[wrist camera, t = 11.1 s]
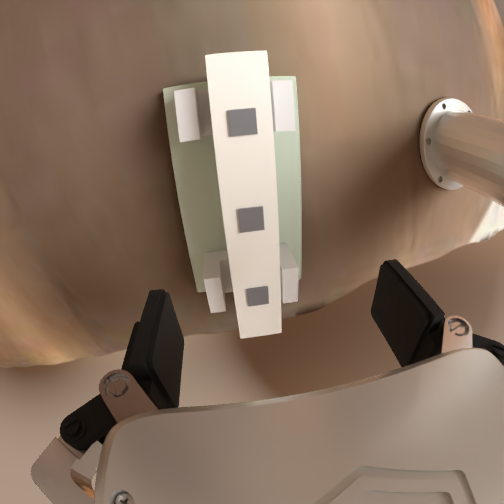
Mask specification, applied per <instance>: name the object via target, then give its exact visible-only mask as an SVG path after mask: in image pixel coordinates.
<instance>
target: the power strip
mask: <svg viewBox="0 0 504 504" xmlns="http://www.w3.org/2000/svg"><path fill="white" fill-rule="evenodd" d="M205 59H206V70H207V81H208V91H209V101H210V111H211V121H212V130H213V139H214V148H215V157H216V165H217V174H218V182H219V190H220V198H221V206H222V214H223V221H224V229H225V236H226V244H227V251H228V258H229V265H230V272H231V279H232V286H233V293H234V299H235V306H236V313H237V319H238V325H239V332H240V338H241V339H242V338H249V337H256V336H264V335H270V334H277V333H281V332H282V327H281V326H282V325H281V278H280V247H279V222H278V200H277V181H276V163H275V147H274V132H273V117H272V104H271V91H270V79H269V68H268V57H267V51H245V52H231V53H220V54H211V55H205Z"/></svg>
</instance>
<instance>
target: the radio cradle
mask: <svg viewBox="0 0 504 504" xmlns="http://www.w3.org/2000/svg"><path fill="white" fill-rule="evenodd" d="M269 79H270V91H271V104H272V117H273V132H274V147H275V163H276V181H277V200H278V222H279V247H280V278H281V299H282V302H283V304H284V303H290V302H296V301H298V279H301V257H302V206H301V162H300V137H299V118H298V102H297V88H296V76H269ZM163 94H164V104H165V112H166V120H167V128H168V136H169V143H170V150H171V157H172V163H173V170H174V176H175V182H176V188H177V194H178V200H179V205H180V211H181V216H182V221H183V226H184V231H185V236H186V241H187V246H188V251H189V256H190V260H191V265H192V269H193V274H194V278H195V283H196V287H197V291H198V293H199V292H206V294H207V298H208V303H209V307H210V312H211V313H216V312H225V311H226V302H225V293H229V292H233V286H232V279H231V272H230V265H229V258H228V251H227V244H226V236H225V229H224V221H223V214H222V206H221V198H220V190H219V182H218V174H217V165H216V157H215V148H214V139H213V130H212V121H211V111H210V101H209V91H208V81H206V82H198V83H191V84H185V85H179V86H174V87H168V88H163Z"/></svg>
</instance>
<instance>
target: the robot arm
mask: <svg viewBox="0 0 504 504" xmlns="http://www.w3.org/2000/svg"><path fill="white" fill-rule="evenodd" d="M420 154H421V159H422V163H423V166H424V169H425V171H426V173H427V175H428V176H429V177H430V179H431V180H432V181H433V182H434V183H435V184H436V185H438V186H440V187H442V188H444V189H447V190H456V189H460V188H461V187H463V186H465V187H468V188H470V189H472V190H473V191H475V192H477V193H479V194H481V195H483V196H485V197H487V198H489V199H491V200H492V201H494V202H496V203H498V204H499V205H501V206H503V207H504V120H502V119H498V118H494V117H490V116H485V115H481V114H476V113H473V112H472V111H471V109H470V108H469V107H468V106H467V105H466V104H465V103H464V102H462V101H460V100H458V99H455V98H442V99H439V100H437V101H436V102H434V103H433V104H432V105H431V106H430V107H429V109H428V111H427V112H426V114H425V116H424V119H423V122H422V126H421V131H420ZM371 314H372V317H373V319H374V321H375V322H376V324H377V325H378V327H379V329H380V330H381V332H382V334H383V335H384V337H385V339H386V341H387V342H388V344H389V346H390V347H391V349H392V351H393V353H394V354H395V356H396V358H397V360H398V361H399V363H400V365H401V367H402V368H399V369H396V370H393V371H390V372H387V373H383V374H380V375H377V376H373V377H370V378H366V379H363V380H359V381H355V382H352V383H348V384H344V385H340V386H336V387H331V388H327V389H323V390H318V391H313V392H308V393H303V394H297V395H292V396H286V397H280V398H273V399H266V400H259V401H251V402H243V403H232V404H222V405H210V406H197V407H196V406H195V407H181V408H178V406H179V395H180V382H181V370H182V360H183V350H184V338H183V335H182V332H181V329H180V326H179V323H178V320H177V317H176V314H175V311H174V308H173V304H172V301H171V298H170V295H169V293H168V292H165V291H164V290H163V289H161V290H151V291H150V292H149V295H148V298H147V301H146V304H145V307H144V310H143V314H142V317H141V320H140V322H136V323H135V325H134V327H133V331H132V334H131V337H130V341H129V344H128V347H127V351H126V355H125V358H124V362H123V365H122V369H121V370H119V369H118V370H113V371H111V372H109V373H107V374H106V375H105V376H104V377H103V378H102V379H101V382H100V384H99V391H100V394H99V395H98V396H96V397H94V398H93V399H92V400H90V401H89V402H87V403H86V404H84V405H83V406H81V407H80V408H78V409H77V410H76V411H74V412H73V413H71V414H70V415H68V416H67V417H66V418H65V419H64V420H63V421H62V423H61V427H60V434H61V436H60V437H59V438H58V439H57V438H56V437H55V438H54V439H53V440H52V442H51V443H50V444H49V446H48V447H47V448H46V449H45V450H44V451H43V453H42V454H41V455H40V456H39V458H38V459H37V460H36V461H35V463H34V464H33V466H32V468H31V476H32V479H33V481H34V482H35V484H36V485H37V486H38V487H39V488H40V489H41V491H42V492H43V493H44V494H45V495H46V496H47V497H48V498H49V500H50V501H51V502H52V503H53V504H504V345H502V344H501V343H499V342H497V341H494V340H491V339H488V338H485V337H482V336H479V335H476V334H473V333H472V327H471V325H470V323H469V322H468V321H467V320H466V319H464V318H462V317H460V316H450V317H448V318H447V319H445V318H444V314H445V313H444V312H443V311H442V310H441V308H440V307H439V306H438V305H437V304H436V302H435V301H434V300H433V299H432V298H431V297H430V296H429V294H428V293H427V292H426V291H425V290H424V289H423V288H422V287H421V285H420V284H419V283H418V282H417V281H416V280H415V279H414V278H413V276H412V275H411V274H410V273H409V272H408V271H407V270H406V269H405V268H404V267H403V266H402V265H401V264H400V263H399V262H398V261H397V260H396V259H394V260H388V261H384V263H383V265H381V266H380V271H379V276H378V281H377V286H376V290H375V295H374V300H373V304H372V308H371ZM97 466H98V467H97ZM96 468H97V470H95V469H96ZM96 472H97V475H96V483H95V491H94V490H93V488H92V485H91V480H92V478H93V476H94V474H95V473H96ZM129 493H130V494H129Z"/></svg>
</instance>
